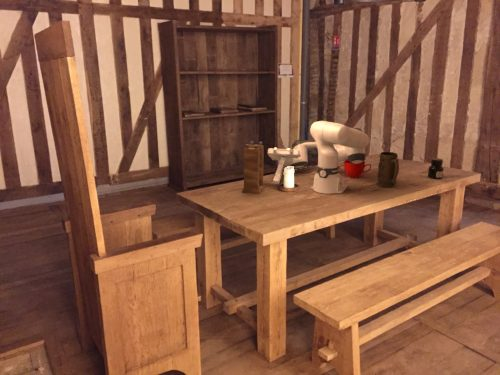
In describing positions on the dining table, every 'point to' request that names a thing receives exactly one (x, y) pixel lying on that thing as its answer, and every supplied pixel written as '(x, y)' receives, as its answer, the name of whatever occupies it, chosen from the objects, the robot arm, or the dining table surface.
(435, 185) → the dining table surface
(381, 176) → the beer stein
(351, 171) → the ceramic cup
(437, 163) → the ink bottle
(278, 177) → the brushed square bar end
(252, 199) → the dining table surface
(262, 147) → the knife block
